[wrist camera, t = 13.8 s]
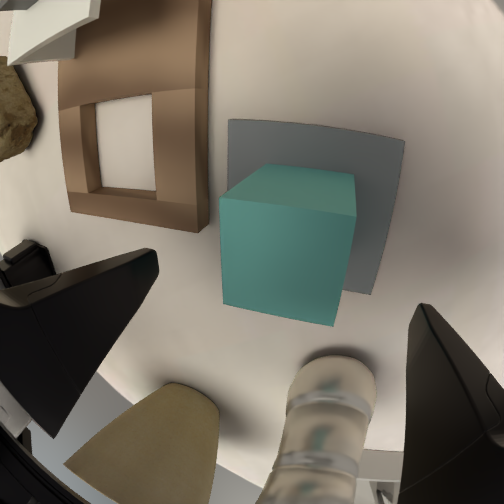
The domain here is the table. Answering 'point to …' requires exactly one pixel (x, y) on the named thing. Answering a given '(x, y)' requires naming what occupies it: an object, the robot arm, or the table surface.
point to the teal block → (287, 241)
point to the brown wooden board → (163, 108)
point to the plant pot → (155, 450)
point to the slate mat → (331, 159)
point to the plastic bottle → (323, 434)
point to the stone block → (14, 113)
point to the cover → (46, 28)
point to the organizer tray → (380, 466)
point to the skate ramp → (376, 492)
